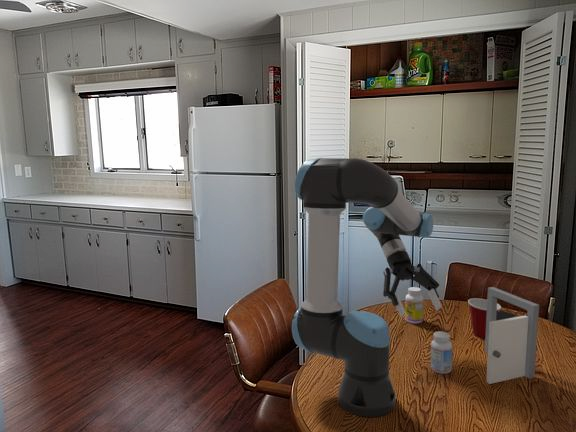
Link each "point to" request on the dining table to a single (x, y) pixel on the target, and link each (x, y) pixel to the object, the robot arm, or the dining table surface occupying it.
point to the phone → (504, 315)
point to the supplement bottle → (414, 306)
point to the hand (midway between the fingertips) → (421, 311)
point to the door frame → (532, 323)
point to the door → (507, 349)
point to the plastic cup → (479, 316)
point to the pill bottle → (441, 353)
